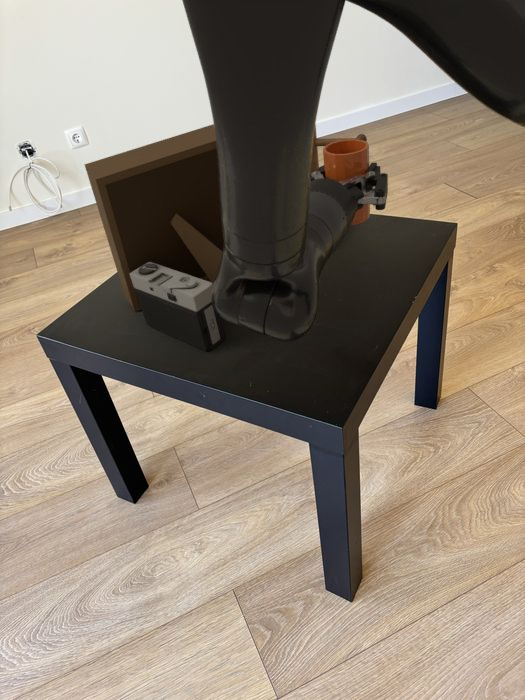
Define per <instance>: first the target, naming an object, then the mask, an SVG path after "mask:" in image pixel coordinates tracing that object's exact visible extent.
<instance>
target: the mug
mask: <svg viewBox="0 0 525 700" xmlns="http://www.w3.org/2000/svg"><path fill="white" fill-rule="evenodd" d="M322 156H323V165H324V171H325V178H327V179H332V180H335V181H337V182H339V181H341V180H346V179H348V178H350V177H352V176H354V175H356V174H358V175H363V174H365V173H366V171H367V170H368V168H369V166H370V145H369V143H368V141H367V142H366V141H363V140H357V139H347V140H340V141H336V142H332V143H330V144H328V145H326V146H323V147H322ZM354 185H355V184H354ZM365 187H366V183H365ZM370 214H371V204H366V205H364V206H363V207H362V208H361V209H359V210H357V211H356V213H355V216H354V219H353V221H352V223H351V225H350V226H355V225H358V224H362V223H363V222H366V221H367V220H368V219H369V218H370V216H371V215H370Z"/></svg>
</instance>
